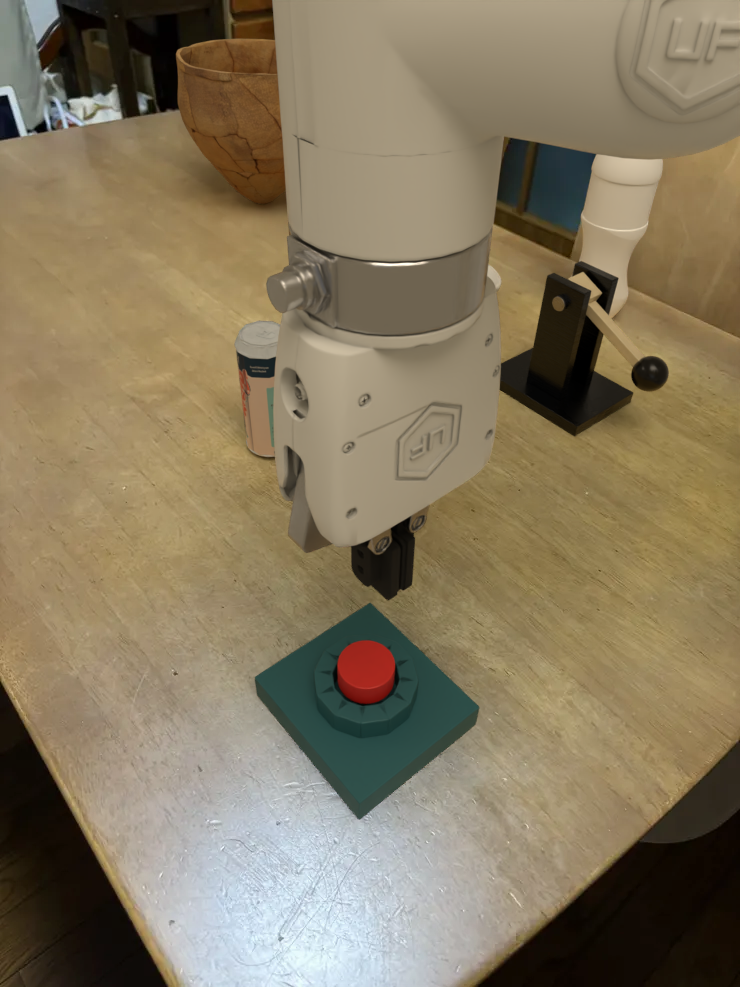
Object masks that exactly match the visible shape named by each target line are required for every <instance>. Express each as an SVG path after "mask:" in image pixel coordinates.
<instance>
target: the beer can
mask: <svg viewBox="0 0 740 987" xmlns="http://www.w3.org/2000/svg"><path fill="white" fill-rule="evenodd" d="M280 324H281V323H278V322H276V321H275V320H274V321H273V320H256V321H252V322H248V323H245V324H244V325H243V326H242V327H241V328H240V329H239V330H238V333H237V336H236V338H235V340H234V348H235V355H236V362H237V371H238V381H239V387H240V388H239V389H240V398H241V405H242V414H243V423H244V430H245V444H246V447H247V448H248V450H249V451H250V452H251V453H253V454H254V455H256V456H259V457H265V458H275V449H274V420H273V402H274V377H275V362H276V353H277V344H278V336H279V330H280Z"/></svg>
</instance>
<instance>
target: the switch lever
mask: <svg viewBox="0 0 740 987" xmlns="http://www.w3.org/2000/svg"><path fill="white" fill-rule="evenodd" d="M570 277H571V276H570ZM570 277H568V278H567V279H568V280H570V281H572V282H574V283H576V284H579V285H581V286H583V287H585V288H587V289H589V290H591V296H590V300H589V304H588V308H587V312H586V315H587V316H588V317H589V318H590V320H591V321H592V322H593V323H594V324H595V325H596V326H597V327H598V329H599V330H600V331H601V332H602V333H603V334H604V335H603V336H604V337H605V338H606V339H607V340H608V341H609V343H611V345H612V346H614V348H615V349H616V350H617V351H618V353H619V354H620V355H621V356H622V357H623V358H624V359H625V360H626V362H628V364H629V365H631V367H632V368H631V373H630V378H631V382H632V383H633V385H634V387H636V388H637V389H638V390H640V391H643V392H646V393H650V392H651V393H652V392H655V391H658V390H660V389H661V388H663V387H664V386H665V385H666V384H667V382H668V379H669V376H670V370H669V367H668V364H667V363H666V362H665V361H664V360H663V359H662V358H661V357H659V356H655V355H647V356H646V355H645V354H644V353H643V352H642V351H641V350H640V349H639V348H638V347H637V345H636V344H635V343H634V342H633V341H632V339H630V338H629V336H628V335H627V334H626V333H625V332H624V331H623V330H622V329H621V328H620V327H619V325H618V324H617V323H616V322H615V320H614V319H613V318H610V316H609V315H608V314H607V313H606V312H605V311H604V310H603V309H602V307H601V306H600V305H599V304H598V303H597V302H596V300H597V299H598V298H599V297H600V295H601V294H602V292H601V291H600V290H599V289H598V288H597V287H596V285H595V284H594V283H593V282H592V281H591V280H590V279H589V278H588V277H587V275H586V274H585V273H584V272H582V273H579V274H577V275H575V276H573V277H571V278H570Z"/></svg>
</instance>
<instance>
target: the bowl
mask: <svg viewBox="0 0 740 987" xmlns="http://www.w3.org/2000/svg"><path fill="white" fill-rule="evenodd" d="M175 60H176V67H177V106H178V110H179V114H180V117H181V121H182V123H183V125H184V127H185V129H186V130H187V132H188V134H189V136H190V137H191V139H192V140H193V142H194V144H195V145H196V146H197V148H198V149H199V151H200V153H201V154H202V155H203V157H205V158H206V160H208V161H209V163H210V164H211V165H212V166H213V168H215V170H217V172H218V173H219V174H220V175H221V176H222V177H223V178H224V180H225V181H226V182H227V184H229V186H231V187H232V188H233V190H235V191H236V192H237V193H239V194H240V195H241V196H242V197H244V198H246V199H247V200H249V201H251V202H253V203H254V204H257V205H258V204H259V205H265V204H269V203H271V202H273V201H274V200H276V199H278V198H279V197H280V196H281V195H283V194H284V193H286V184H285V169H284V154H283V138H282V127H281V116H280V102H279V88H278V74H277V60H276V46H275V39H265V38H225V39H224V38H223V39H212V40H207V41H202V42H196V43H193V44H190V45H189V46H183V47H180V48H178V49H177V50H176V53H175Z"/></svg>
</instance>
